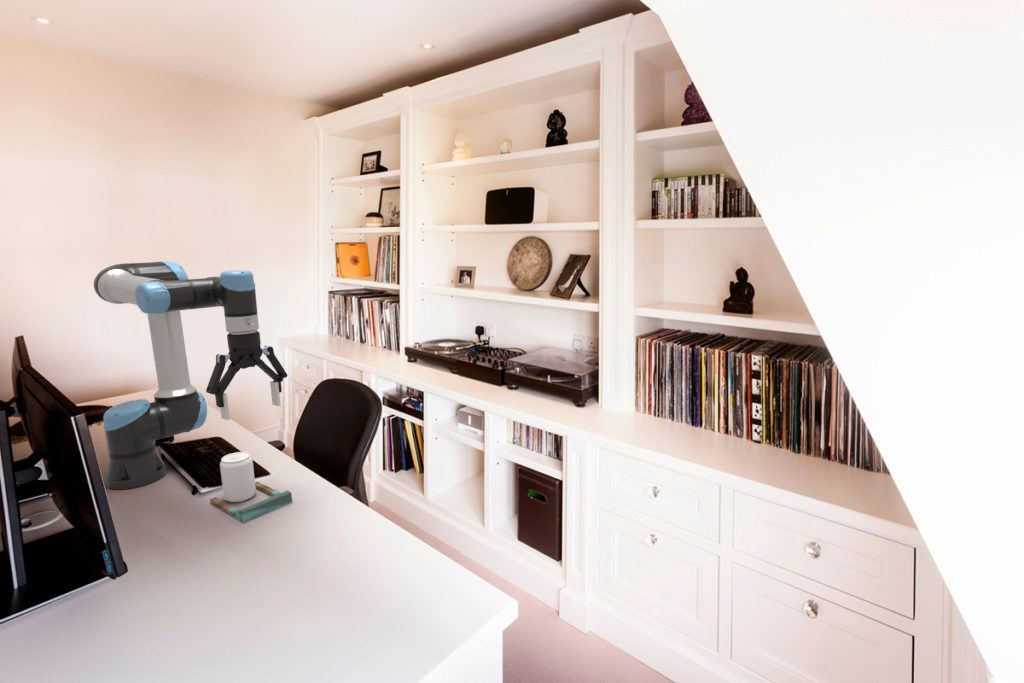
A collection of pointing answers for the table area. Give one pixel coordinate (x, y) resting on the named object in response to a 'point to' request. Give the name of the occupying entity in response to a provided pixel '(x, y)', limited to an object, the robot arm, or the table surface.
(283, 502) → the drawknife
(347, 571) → the table surface
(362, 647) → the table surface
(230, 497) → the beverage can
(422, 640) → the table surface
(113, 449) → the robot arm
